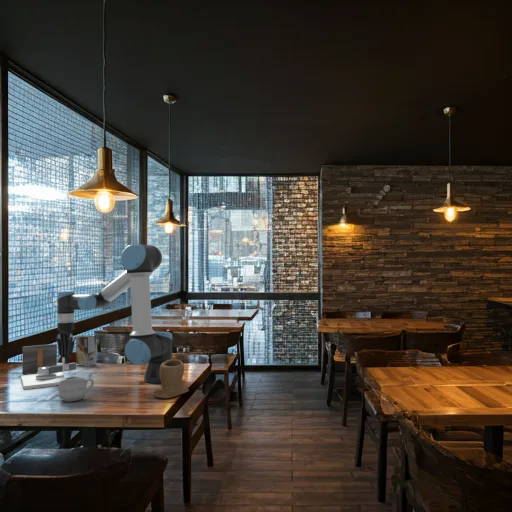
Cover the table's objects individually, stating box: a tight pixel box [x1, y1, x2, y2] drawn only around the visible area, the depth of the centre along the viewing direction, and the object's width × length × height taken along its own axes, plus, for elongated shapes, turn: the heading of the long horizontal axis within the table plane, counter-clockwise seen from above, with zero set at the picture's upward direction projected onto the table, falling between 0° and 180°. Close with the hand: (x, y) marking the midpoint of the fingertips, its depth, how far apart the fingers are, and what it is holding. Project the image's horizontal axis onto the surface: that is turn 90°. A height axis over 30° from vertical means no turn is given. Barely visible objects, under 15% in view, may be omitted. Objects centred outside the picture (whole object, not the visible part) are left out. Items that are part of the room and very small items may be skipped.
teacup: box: [58, 377, 95, 403], centre depth 186 cm, size 14×11×8 cm
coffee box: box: [75, 334, 97, 367], centre depth 255 cm, size 9×6×16 cm
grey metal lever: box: [36, 362, 77, 379], centre depth 221 cm, size 19×9×5 cm, turn 137°
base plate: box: [20, 372, 67, 390], centre depth 217 cm, size 25×18×2 cm
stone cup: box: [153, 358, 190, 399], centre depth 191 cm, size 15×12×15 cm
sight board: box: [21, 343, 58, 375], centre depth 235 cm, size 2×16×14 cm, turn 120°
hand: (65, 370), depth 222 cm, fingers closed
